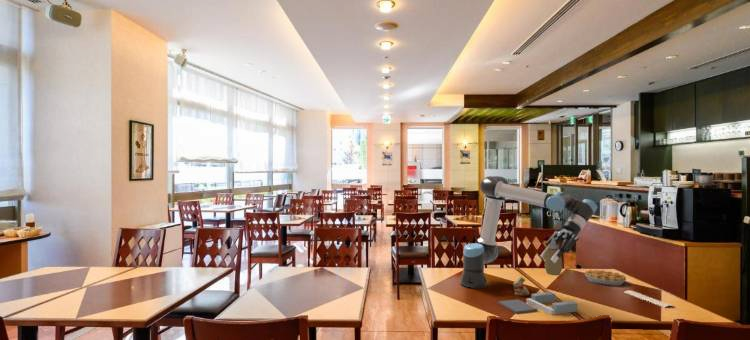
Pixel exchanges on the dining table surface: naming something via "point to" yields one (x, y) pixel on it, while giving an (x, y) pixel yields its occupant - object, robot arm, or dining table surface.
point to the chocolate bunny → (520, 287)
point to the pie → (605, 277)
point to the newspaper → (648, 298)
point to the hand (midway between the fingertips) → (547, 259)
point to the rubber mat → (517, 306)
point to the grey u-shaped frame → (556, 307)
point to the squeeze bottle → (549, 265)
